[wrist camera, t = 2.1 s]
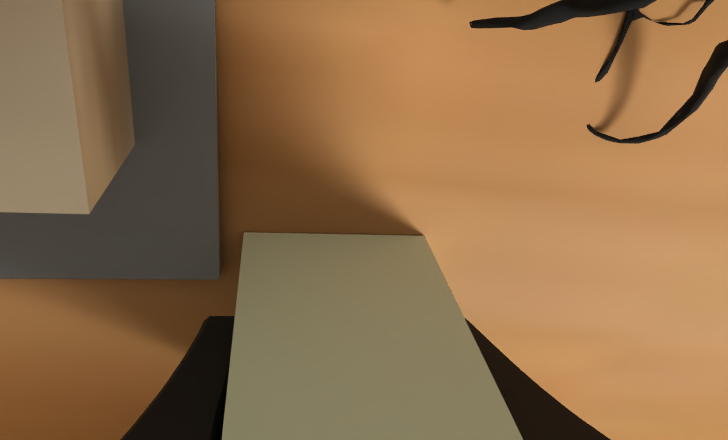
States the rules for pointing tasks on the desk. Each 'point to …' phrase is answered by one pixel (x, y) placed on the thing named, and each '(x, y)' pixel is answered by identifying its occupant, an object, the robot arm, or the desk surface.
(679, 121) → the creature
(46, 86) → the base slab
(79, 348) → the desk surface
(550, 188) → the desk surface
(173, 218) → the mat
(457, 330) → the pillar block
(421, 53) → the desk surface
